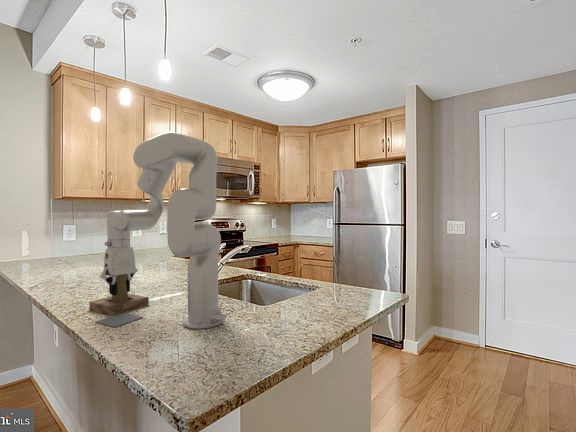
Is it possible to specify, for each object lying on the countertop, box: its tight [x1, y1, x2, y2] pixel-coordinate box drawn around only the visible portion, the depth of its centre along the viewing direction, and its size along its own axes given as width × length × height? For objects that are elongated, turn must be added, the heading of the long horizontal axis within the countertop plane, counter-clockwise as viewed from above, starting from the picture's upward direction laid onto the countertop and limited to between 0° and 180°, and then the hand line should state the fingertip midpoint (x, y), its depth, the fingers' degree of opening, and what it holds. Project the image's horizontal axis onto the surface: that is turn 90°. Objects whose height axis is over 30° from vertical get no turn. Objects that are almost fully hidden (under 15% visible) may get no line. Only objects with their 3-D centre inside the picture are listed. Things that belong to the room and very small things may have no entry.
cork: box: [111, 274, 129, 303], centre depth 119 cm, size 6×6×11 cm
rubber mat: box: [95, 312, 144, 328], centre depth 105 cm, size 10×10×1 cm
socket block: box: [88, 293, 150, 317], centre depth 119 cm, size 14×14×3 cm
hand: (120, 292), depth 119 cm, fingers closed on cork, 4 cm apart
